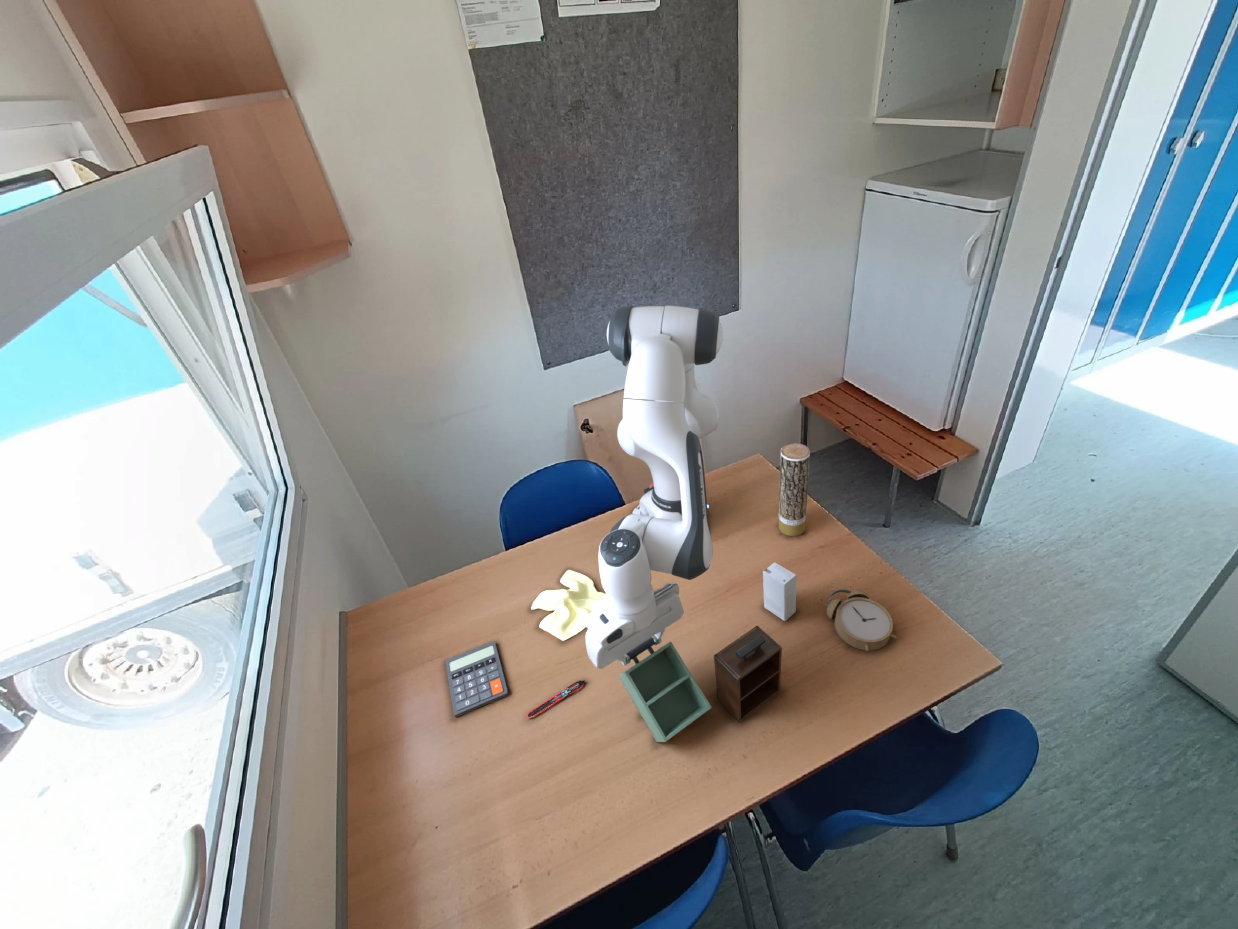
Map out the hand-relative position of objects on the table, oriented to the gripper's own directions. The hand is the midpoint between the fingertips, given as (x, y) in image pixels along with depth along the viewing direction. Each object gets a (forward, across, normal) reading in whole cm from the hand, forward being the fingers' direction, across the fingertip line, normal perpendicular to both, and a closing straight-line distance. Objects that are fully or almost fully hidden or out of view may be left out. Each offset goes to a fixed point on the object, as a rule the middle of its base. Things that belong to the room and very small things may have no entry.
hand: (640, 652), depth 111 cm
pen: (+12, +17, -9) cm, 23 cm away
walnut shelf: (+3, -15, +11) cm, 19 cm away
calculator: (+12, +29, -25) cm, 40 cm away
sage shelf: (+7, 0, +4) cm, 8 cm away
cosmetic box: (+12, -35, +3) cm, 37 cm away
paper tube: (+13, -57, -15) cm, 60 cm away
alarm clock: (+12, -45, +16) cm, 49 cm away
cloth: (+12, +2, -30) cm, 33 cm away
